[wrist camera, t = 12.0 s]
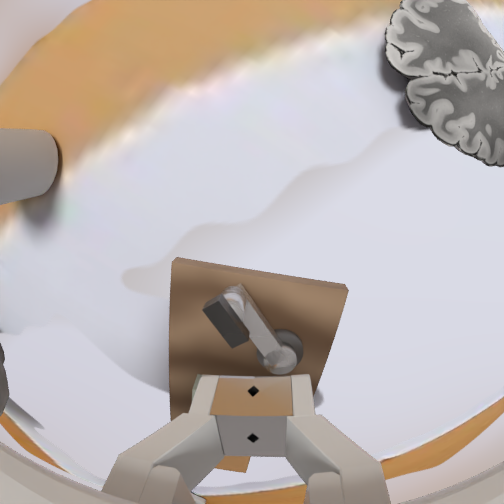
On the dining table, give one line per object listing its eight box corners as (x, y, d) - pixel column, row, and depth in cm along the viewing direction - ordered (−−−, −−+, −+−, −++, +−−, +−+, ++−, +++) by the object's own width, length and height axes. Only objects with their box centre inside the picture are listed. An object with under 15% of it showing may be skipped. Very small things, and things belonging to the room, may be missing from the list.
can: (69, 182, 26) (-17, 198, 14) (28, 203, 27) (-48, 226, 15) (57, 118, 24) (-26, 111, 12) (17, 146, 25) (-58, 152, 13)
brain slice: (341, 5, 19) (348, -10, 17) (461, 2, 17) (472, -6, 14) (417, 188, 24) (432, 191, 21) (520, 154, 21) (536, 155, 19)
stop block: (255, 405, 29) (251, 454, 23) (250, 426, 30) (245, 472, 24) (219, 399, 29) (208, 447, 23) (217, 421, 31) (207, 466, 24)
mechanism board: (294, 433, 33) (294, 447, 31) (173, 414, 33) (168, 427, 31) (345, 284, 27) (351, 295, 24) (176, 257, 27) (168, 265, 25)
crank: (301, 358, 26) (306, 398, 21) (274, 371, 27) (273, 411, 22) (238, 266, 24) (228, 295, 19) (209, 284, 25) (192, 314, 20)
